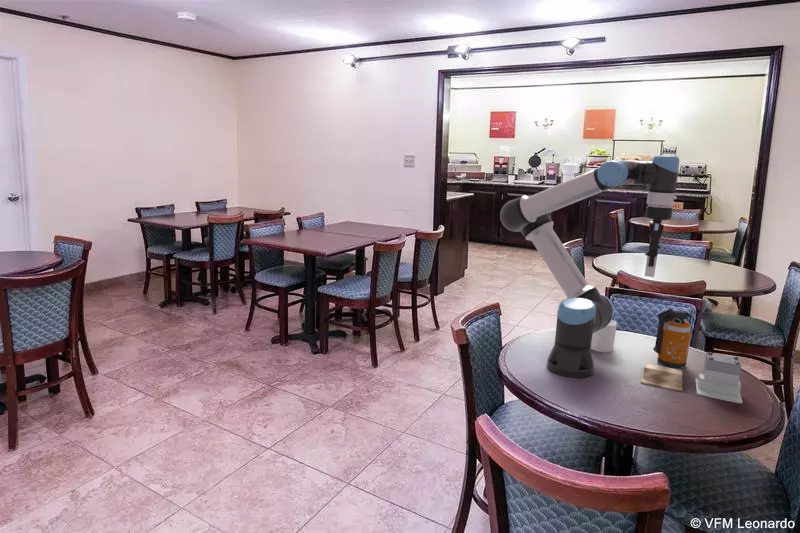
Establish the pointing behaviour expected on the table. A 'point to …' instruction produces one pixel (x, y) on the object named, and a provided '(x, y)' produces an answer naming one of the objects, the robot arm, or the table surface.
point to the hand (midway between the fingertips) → (649, 272)
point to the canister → (673, 338)
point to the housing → (722, 369)
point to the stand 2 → (718, 390)
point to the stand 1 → (662, 377)
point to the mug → (604, 338)
